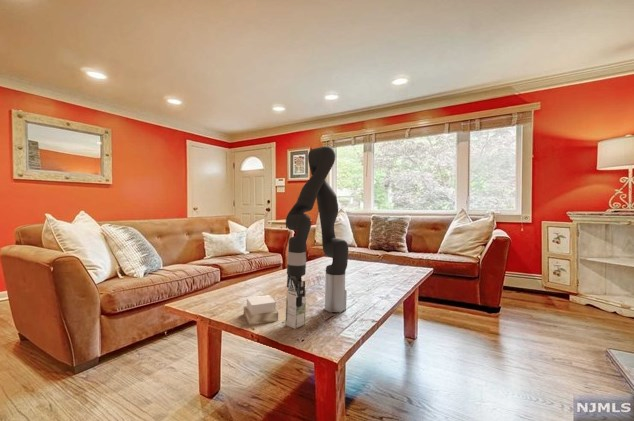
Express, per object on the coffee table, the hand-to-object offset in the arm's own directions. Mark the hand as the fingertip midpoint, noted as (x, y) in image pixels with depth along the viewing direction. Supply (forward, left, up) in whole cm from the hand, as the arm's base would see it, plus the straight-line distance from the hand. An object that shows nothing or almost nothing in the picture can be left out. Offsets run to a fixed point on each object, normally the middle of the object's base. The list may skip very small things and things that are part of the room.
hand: (294, 302), depth 114 cm
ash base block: (+11, -13, -10) cm, 19 cm away
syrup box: (0, 0, -9) cm, 9 cm away
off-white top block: (+11, -13, -6) cm, 18 cm away
